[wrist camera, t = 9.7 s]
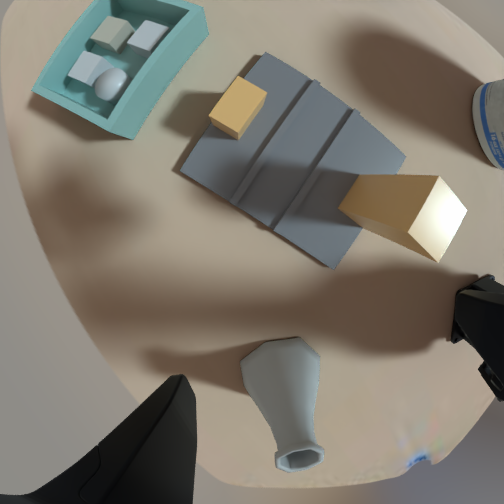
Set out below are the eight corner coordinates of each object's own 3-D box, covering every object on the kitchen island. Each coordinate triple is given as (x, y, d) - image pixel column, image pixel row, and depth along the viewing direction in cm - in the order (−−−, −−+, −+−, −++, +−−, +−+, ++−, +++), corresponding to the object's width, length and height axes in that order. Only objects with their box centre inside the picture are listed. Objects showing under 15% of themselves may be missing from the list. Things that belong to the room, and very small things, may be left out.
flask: (259, 406, 24) (267, 491, 14) (225, 355, 22) (219, 450, 13) (329, 380, 24) (363, 461, 14) (306, 322, 22) (343, 410, 12)
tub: (208, 34, 16) (203, 7, 12) (133, 139, 18) (109, 132, 14) (125, 6, 14) (109, -16, 10) (58, 100, 16) (31, 90, 12)
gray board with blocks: (399, 157, 19) (491, 152, 9) (329, 266, 21) (391, 330, 11) (264, 57, 17) (282, -25, 7) (182, 171, 19) (128, 164, 9)
